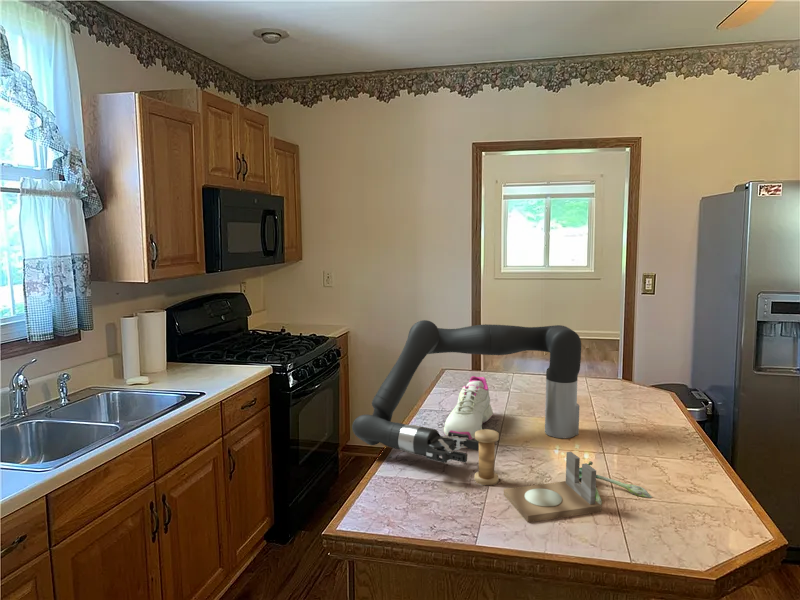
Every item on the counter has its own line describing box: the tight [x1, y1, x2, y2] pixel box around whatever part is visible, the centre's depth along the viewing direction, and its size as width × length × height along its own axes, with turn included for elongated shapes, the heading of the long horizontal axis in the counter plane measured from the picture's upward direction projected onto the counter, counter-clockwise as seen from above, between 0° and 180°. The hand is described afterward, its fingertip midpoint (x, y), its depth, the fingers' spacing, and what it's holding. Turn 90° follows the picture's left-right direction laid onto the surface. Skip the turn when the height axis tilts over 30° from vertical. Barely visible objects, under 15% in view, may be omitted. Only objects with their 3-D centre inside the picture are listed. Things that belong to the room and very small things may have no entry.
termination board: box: [503, 451, 602, 523], centre depth 134 cm, size 18×13×10 cm
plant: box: [579, 460, 653, 506], centre depth 142 cm, size 15×16×6 cm
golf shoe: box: [443, 375, 494, 441], centre depth 180 cm, size 12×33×15 cm, turn 162°
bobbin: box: [474, 428, 500, 486], centre depth 146 cm, size 6×6×12 cm
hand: (473, 452), depth 148 cm, fingers open, 8 cm apart
